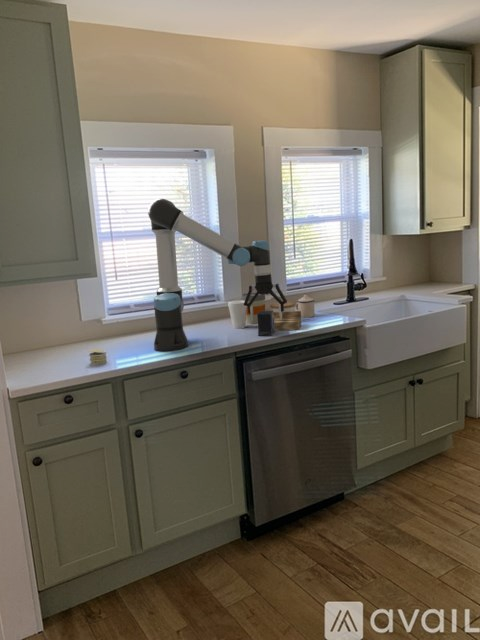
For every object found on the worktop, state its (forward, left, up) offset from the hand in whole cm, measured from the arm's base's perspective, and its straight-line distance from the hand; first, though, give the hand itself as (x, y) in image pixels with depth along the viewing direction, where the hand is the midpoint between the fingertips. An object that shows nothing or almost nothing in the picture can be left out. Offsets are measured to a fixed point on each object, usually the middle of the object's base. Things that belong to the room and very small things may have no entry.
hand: (266, 319), depth 254 cm
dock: (+7, +13, -7) cm, 16 cm away
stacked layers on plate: (-62, -49, -7) cm, 80 cm away
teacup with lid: (+14, +44, -7) cm, 47 cm away
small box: (0, 0, -7) cm, 7 cm away
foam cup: (-17, +18, -7) cm, 26 cm away
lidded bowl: (+4, +31, -7) cm, 32 cm away
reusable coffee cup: (-11, +30, -7) cm, 33 cm away
